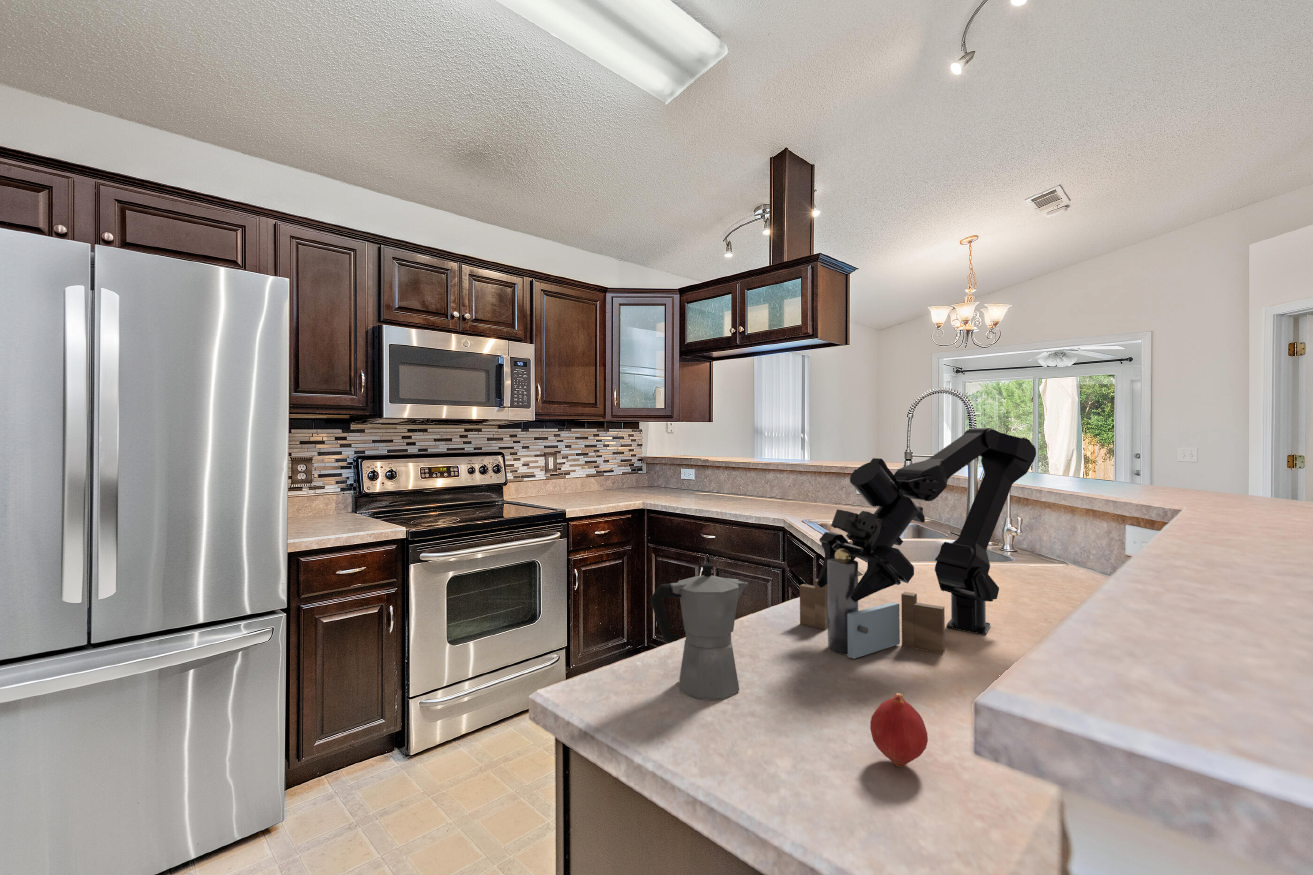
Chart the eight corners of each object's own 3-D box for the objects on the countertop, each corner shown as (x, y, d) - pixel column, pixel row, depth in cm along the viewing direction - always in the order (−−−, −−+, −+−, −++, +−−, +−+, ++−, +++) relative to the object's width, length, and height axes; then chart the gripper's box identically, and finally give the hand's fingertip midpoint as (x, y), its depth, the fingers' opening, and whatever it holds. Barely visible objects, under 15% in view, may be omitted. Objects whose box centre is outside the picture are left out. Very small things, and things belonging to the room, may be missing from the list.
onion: (861, 751, 65) (861, 682, 65) (909, 748, 65) (908, 679, 65) (886, 782, 59) (885, 705, 59) (938, 778, 60) (938, 703, 60)
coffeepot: (733, 667, 89) (732, 553, 89) (765, 692, 80) (763, 566, 80) (641, 682, 84) (640, 561, 84) (663, 711, 75) (662, 576, 75)
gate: (893, 641, 99) (893, 601, 99) (907, 646, 97) (906, 605, 97) (847, 656, 92) (847, 613, 92) (861, 661, 90) (860, 617, 90)
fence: (803, 621, 111) (803, 576, 111) (945, 650, 95) (944, 597, 95) (799, 624, 109) (799, 578, 109) (942, 654, 94) (942, 600, 94)
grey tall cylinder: (834, 641, 100) (833, 544, 100) (862, 647, 97) (862, 548, 97) (823, 649, 96) (822, 549, 96) (852, 656, 93) (852, 552, 93)
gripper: (827, 488, 106) (776, 551, 103) (898, 498, 89) (840, 574, 85) (862, 527, 109) (814, 590, 105) (938, 544, 91) (883, 620, 88)
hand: (834, 592), depth 96 cm, fingers open, 9 cm apart
